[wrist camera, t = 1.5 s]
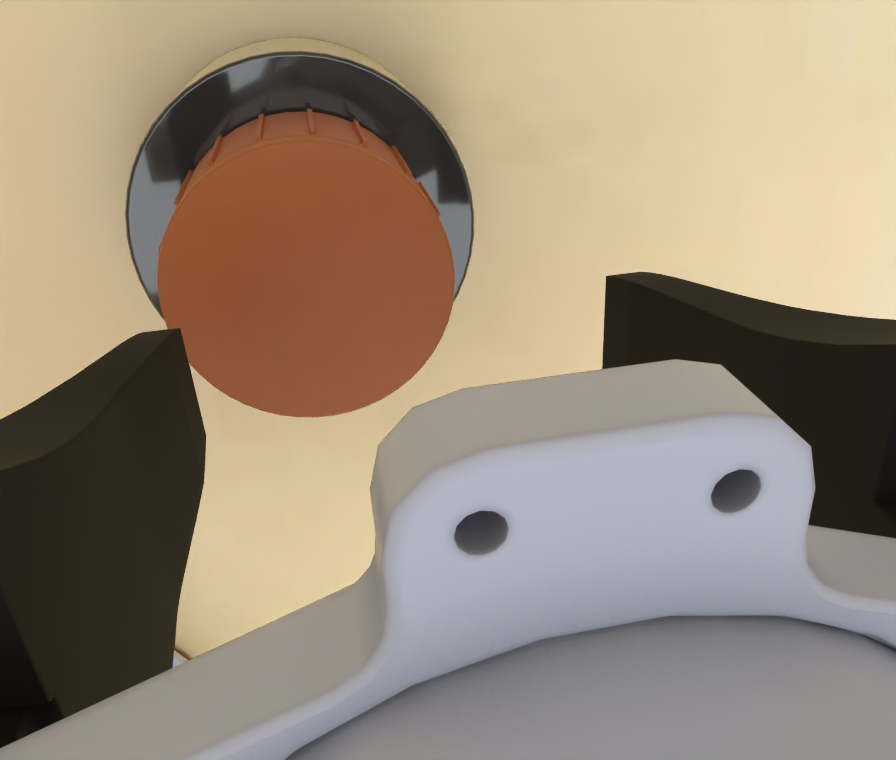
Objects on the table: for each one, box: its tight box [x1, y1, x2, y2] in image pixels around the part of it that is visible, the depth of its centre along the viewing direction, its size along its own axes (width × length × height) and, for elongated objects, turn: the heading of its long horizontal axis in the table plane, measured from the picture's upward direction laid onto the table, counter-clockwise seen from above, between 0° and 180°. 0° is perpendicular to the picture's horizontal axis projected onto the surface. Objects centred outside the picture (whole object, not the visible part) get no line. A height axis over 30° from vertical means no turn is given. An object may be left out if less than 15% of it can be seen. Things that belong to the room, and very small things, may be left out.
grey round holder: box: [125, 38, 474, 321], centre depth 19 cm, size 8×8×7 cm
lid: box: [157, 109, 455, 417], centre depth 17 cm, size 6×6×3 cm
